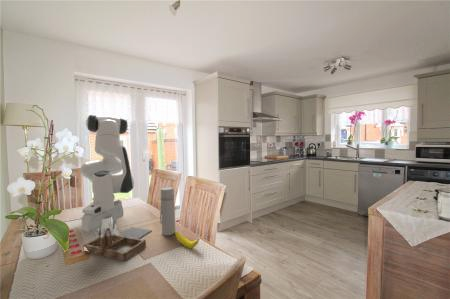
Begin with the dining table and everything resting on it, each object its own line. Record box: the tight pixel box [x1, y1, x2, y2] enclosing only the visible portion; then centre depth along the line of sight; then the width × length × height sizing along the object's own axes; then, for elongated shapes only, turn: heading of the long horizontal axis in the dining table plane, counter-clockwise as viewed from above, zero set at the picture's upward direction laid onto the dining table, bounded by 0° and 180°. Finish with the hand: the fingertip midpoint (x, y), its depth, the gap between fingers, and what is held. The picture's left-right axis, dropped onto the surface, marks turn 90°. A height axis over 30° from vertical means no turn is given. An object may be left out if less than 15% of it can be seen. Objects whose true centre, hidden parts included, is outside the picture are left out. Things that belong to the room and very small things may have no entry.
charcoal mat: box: [117, 226, 152, 239], centre depth 117 cm, size 14×12×1 cm
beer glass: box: [98, 215, 114, 248], centre depth 103 cm, size 7×7×15 cm
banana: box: [174, 230, 200, 249], centre depth 102 cm, size 3×19×6 cm, turn 48°
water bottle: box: [159, 186, 176, 237], centre depth 117 cm, size 9×8×25 cm
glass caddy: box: [83, 233, 147, 262], centre depth 102 cm, size 25×13×3 cm, turn 70°
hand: (105, 232), depth 103 cm, fingers closed on beer glass, 6 cm apart
